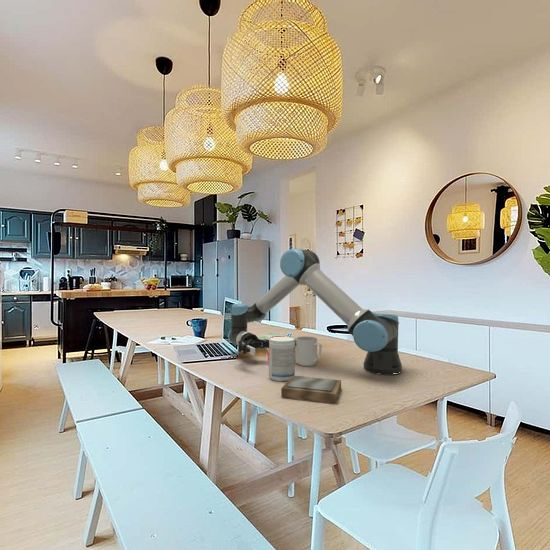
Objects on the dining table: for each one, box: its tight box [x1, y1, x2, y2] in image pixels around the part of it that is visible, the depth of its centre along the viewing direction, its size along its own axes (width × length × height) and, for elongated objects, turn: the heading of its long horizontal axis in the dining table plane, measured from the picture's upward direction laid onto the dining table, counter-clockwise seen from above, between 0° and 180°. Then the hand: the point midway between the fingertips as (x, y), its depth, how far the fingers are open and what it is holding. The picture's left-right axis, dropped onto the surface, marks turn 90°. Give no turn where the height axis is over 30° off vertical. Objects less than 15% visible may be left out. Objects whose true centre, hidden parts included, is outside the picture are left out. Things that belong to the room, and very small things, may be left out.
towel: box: [257, 332, 297, 349], centre depth 198 cm, size 18×21×5 cm
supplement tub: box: [268, 336, 296, 382], centre depth 138 cm, size 10×10×15 cm
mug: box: [295, 336, 323, 367], centre depth 158 cm, size 12×9×11 cm
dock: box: [280, 375, 342, 404], centre depth 121 cm, size 17×15×3 cm
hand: (270, 350), depth 146 cm, fingers open, 13 cm apart
